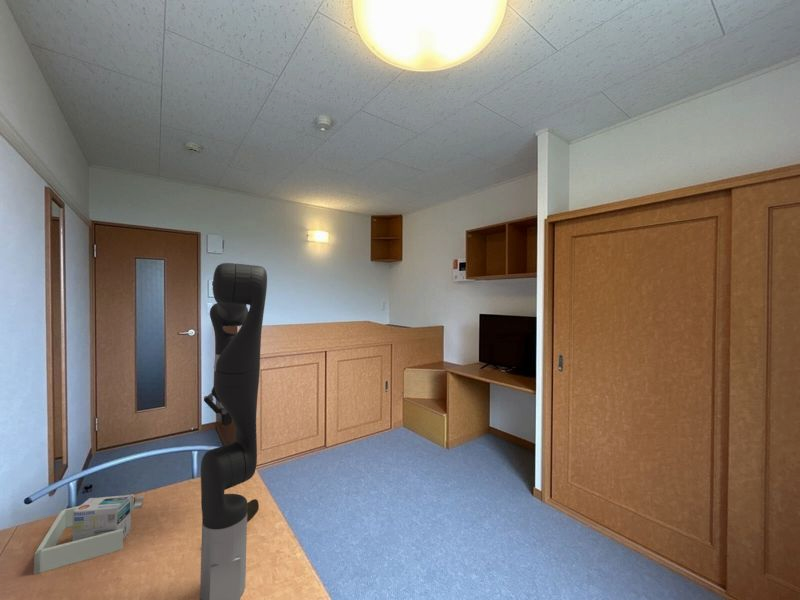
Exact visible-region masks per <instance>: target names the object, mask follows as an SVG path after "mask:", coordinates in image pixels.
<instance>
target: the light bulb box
mask: <svg viewBox="0 0 800 600" xmlns="http://www.w3.org/2000/svg"><path fill="white" fill-rule="evenodd" d="M131 495H132V494H125V495H124V494H121V495H115V496H103V497H90V498H88V499H87V500H85V501H84V502H82V504H80V505H78V506H79V507H78V508H77V509H75V510H74V511H73V526H71V528H72V529H71V530H72V531H71V532H72V536H71V542H73V541H76V540H80V539H84V538H88V537H92V536H96V535H100V534H104V533H108V532H111V531H115V530H119V529H123V540H124V539H125V538H126V537H127V536H128V535H129V533H131V521H132V519H131V518H132V512H131Z"/></svg>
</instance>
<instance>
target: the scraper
mask: <svg viewBox="0 0 800 600" xmlns="http://www.w3.org/2000/svg"><path fill="white" fill-rule="evenodd" d="M144 497H145V495H141V496H134V503H133V510H136V509H141V508H142V506H143V502H144Z"/></svg>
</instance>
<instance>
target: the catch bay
mask: <svg viewBox="0 0 800 600" xmlns="http://www.w3.org/2000/svg"><path fill="white" fill-rule="evenodd" d="M134 497H135V494H131V513H133V512H134V507H133V503H134ZM79 506H80V505H78V506H73V507H69V508H64V509H61V511H60V512H59V514H58V515H57V517H56V519H55V520H54V522H53V524H52V525H51V526H50V529H49V530H48V531H47V533H46V535H45V536H44V538H43V539H42V541H41V542H40V544H39V546H38V548H37V549H36V551H35V552H34V559H33V561H34V564H33V566H34V567H33V575H36V574H40V573H45V572H48V571H51V570H54V569H59V568H61V567H65V566H68V565H72V564H76V563H79V562H83V561H86V560H90V559H93V558H96V557H100V556H103V555H108V554H111V553H115V552H119V551H122V550H123V546H124V545H123V543H124V539H123V529H119V530H115V531H111V532H108V533H104V534H100V535H96V536H92V537H88V538H84V539H80V540H76V541H73V542H72V541H69V542H64V543H62V544H58V545H57V543H58V542H59V540H60V537H61V535H62V534H63V533H64V531H65V529H66V528H72V527H73V511H74V510H75V509H77V508H78V507H79Z"/></svg>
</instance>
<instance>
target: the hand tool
mask: <svg viewBox="0 0 800 600" xmlns="http://www.w3.org/2000/svg"><path fill="white" fill-rule="evenodd" d="M247 503H248V510H247V523H248V522H250V521H251V520H252V519H253V518H254V517H255V516H256V514H257V512H258V511H259V509H260V505H259V501H258V499H257V498H255V499H251V500H250V501H249V502H248V501H247Z"/></svg>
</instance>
